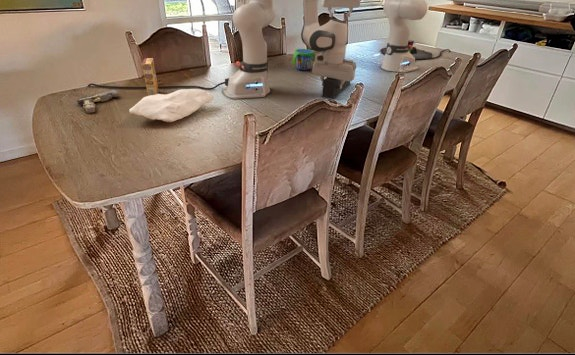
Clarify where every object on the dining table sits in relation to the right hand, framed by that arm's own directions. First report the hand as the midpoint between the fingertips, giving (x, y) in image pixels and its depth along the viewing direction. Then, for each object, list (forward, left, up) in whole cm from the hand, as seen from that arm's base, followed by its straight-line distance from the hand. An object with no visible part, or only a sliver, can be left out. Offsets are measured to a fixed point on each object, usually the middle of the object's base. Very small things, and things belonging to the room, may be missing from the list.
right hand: (339, 16), depth 191 cm
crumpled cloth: (+96, +26, -29) cm, 104 cm away
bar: (+15, +26, -29) cm, 42 cm away
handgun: (+121, +4, -29) cm, 125 cm away
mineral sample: (-73, -20, -29) cm, 81 cm away
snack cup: (+13, -11, -29) cm, 34 cm away
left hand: (+22, +31, -26) cm, 46 cm away
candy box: (+99, +1, -29) cm, 104 cm away
